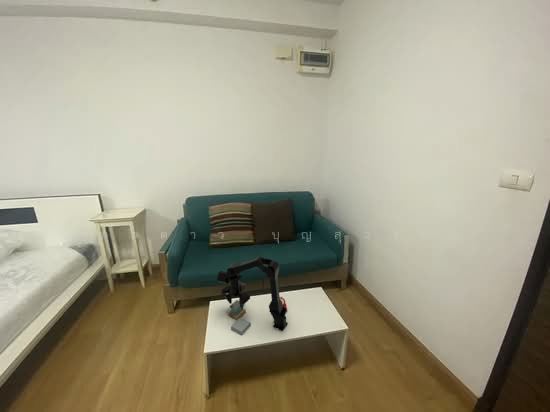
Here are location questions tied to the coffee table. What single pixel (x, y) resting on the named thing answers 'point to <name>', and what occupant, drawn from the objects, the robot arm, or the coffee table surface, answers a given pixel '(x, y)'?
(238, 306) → the housing
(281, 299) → the alarm clock
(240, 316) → the stand
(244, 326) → the stand
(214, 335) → the coffee table surface
